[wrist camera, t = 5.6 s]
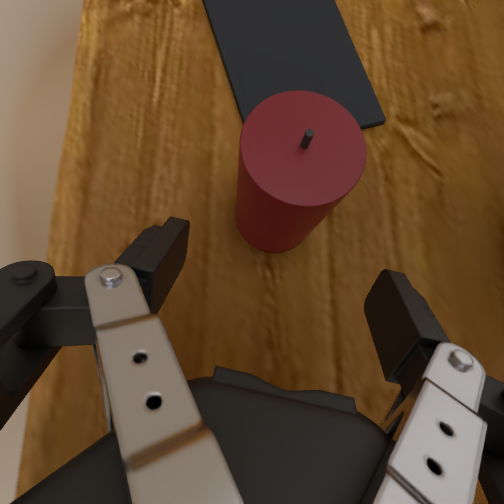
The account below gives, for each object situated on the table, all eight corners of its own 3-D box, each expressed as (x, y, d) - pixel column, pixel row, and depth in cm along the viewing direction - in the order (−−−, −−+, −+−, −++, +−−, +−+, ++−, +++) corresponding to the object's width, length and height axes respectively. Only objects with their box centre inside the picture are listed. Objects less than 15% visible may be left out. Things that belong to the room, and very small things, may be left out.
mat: (319, -24, 29) (321, -31, 28) (383, 124, 26) (386, 120, 25) (200, -5, 27) (200, -12, 27) (253, 155, 24) (254, 151, 24)
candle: (296, 173, 24) (349, 62, 14) (320, 241, 23) (398, 178, 13) (226, 191, 24) (223, 87, 13) (248, 261, 22) (264, 213, 12)
